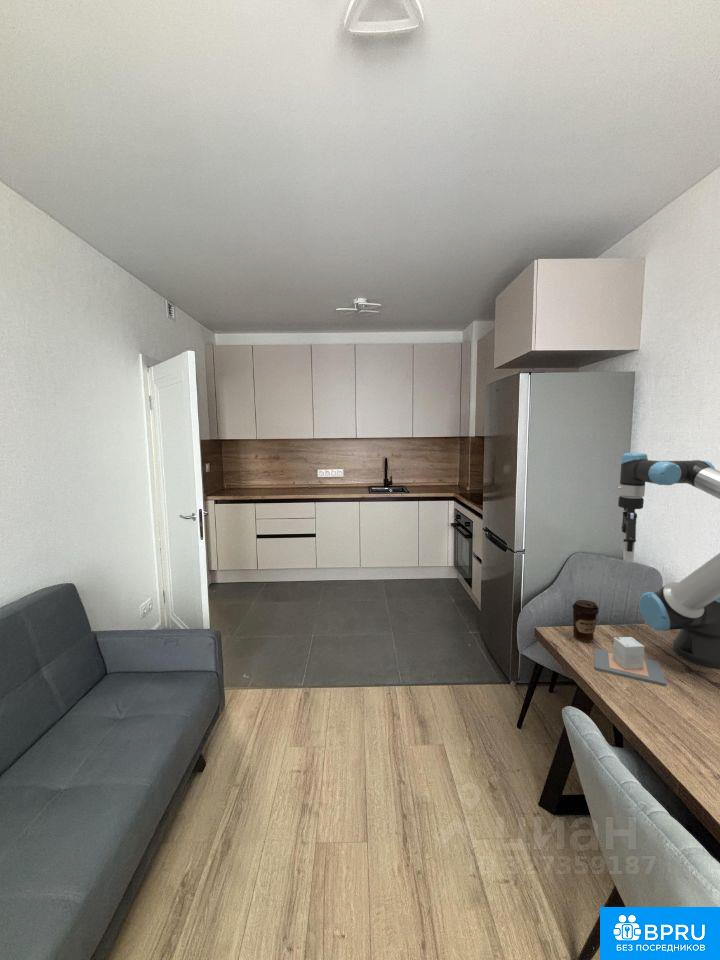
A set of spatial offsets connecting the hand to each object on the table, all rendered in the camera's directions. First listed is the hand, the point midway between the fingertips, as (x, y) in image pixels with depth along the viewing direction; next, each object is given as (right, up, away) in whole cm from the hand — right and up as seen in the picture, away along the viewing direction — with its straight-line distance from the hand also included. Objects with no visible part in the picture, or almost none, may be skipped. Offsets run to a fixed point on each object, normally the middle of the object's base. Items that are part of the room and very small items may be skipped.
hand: (626, 554), depth 151 cm
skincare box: (-13, -31, -20) cm, 39 cm away
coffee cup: (-17, -29, -2) cm, 34 cm away
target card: (-13, -31, -20) cm, 39 cm away
